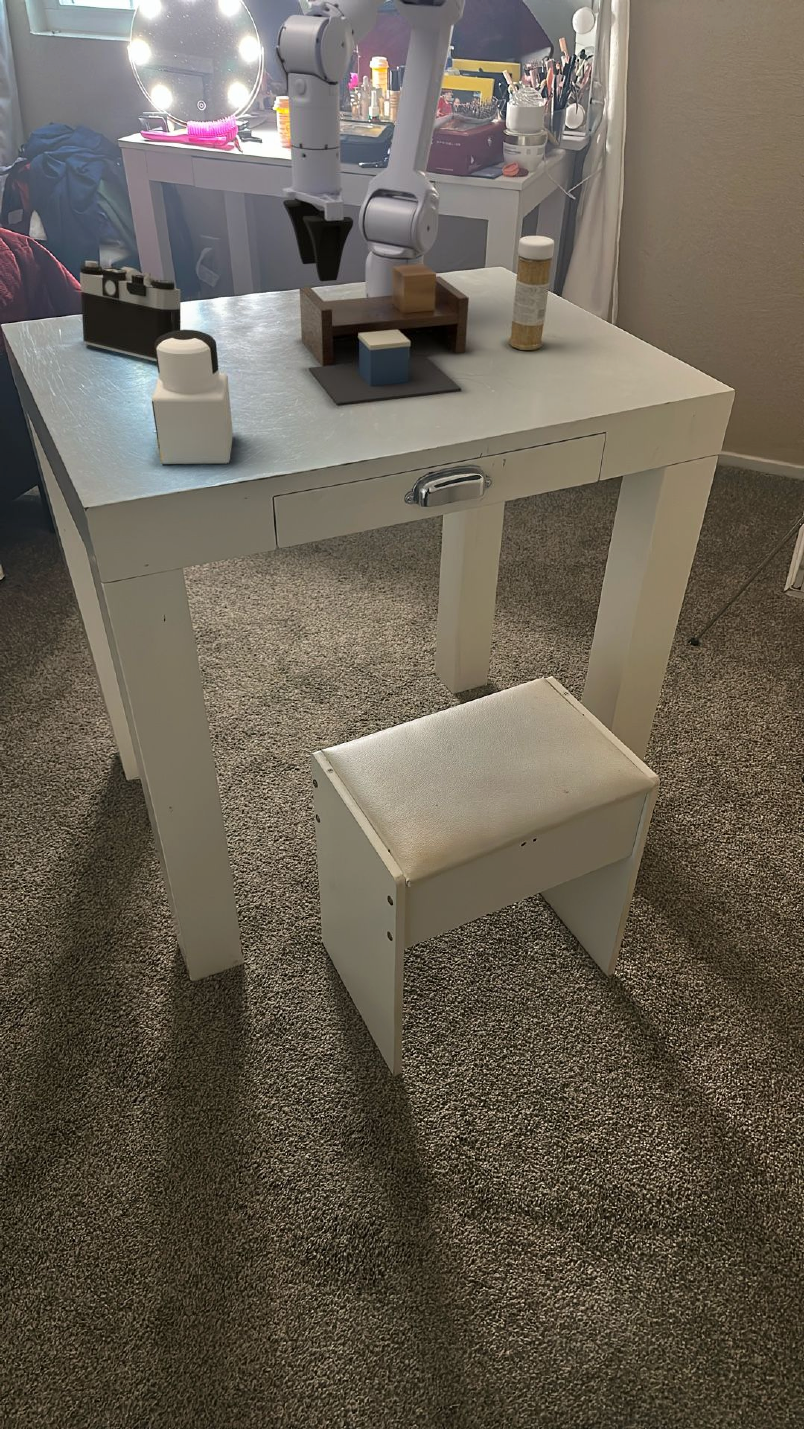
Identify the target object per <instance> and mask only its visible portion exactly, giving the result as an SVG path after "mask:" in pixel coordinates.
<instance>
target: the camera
mask: <svg viewBox="0 0 804 1429" xmlns="http://www.w3.org/2000/svg"><path fill="white" fill-rule="evenodd" d="M84 263H85V264H82V265H81V266H80V272H79V281H80V297H81V312H82V313H81V315H82V316H81V318H82V335H83V338H82V339H83V342H82V343H83V344H85V345H88V346H92V347H96V348H100V349H104V350H109V351H111V352H112V351H113V352H116V353H121V354H124V355H128V356H133V357H137V358H140V359H144V360H149V361H153V362H157V360H156V353H155V346H154V344H155V342H156V340H157V339H158V338H159V337H160V336H162V335H164V334H166V333H168V332H172V331H177V330H182V328H181V325H182V324H181V323H182V322H181V309H182V308H181V289H179V288H175V282H174V281H172V280H166V279H153V277H152V272H144V273H145V274H143V273H142V272H140V271H138V270H137V269H136V268H134V267H129V266H123V267H121V268H117V267H112V266H109V267H108V266H107V267H102V266H99V262H98V261H94V260H85V261H84Z"/></svg>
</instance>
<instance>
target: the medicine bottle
mask: <svg viewBox="0 0 804 1429" xmlns="http://www.w3.org/2000/svg"><path fill="white" fill-rule="evenodd" d="M154 346H155V353H156V360H157V361H156V367H157V373H158V377H157V380H156V384H155V386H154V390H153V393H152V396H151V406H152V412H153V419H154V420H153V421H154V427H155V433H156V441H157V447H158V452H159V460H160V463H161V464H163V465H202V464H203V465H206V464H209V465H212V464H214V465H215V464H216V465H217V464H221V465H222V464H229V462H230V460H231V454H232V453H231V452H232V444H233V439H234V438H233V437H234V431H233V421H232V409H231V399H230V398H231V397H230V387H229V378H228V374H227V372H220V370H219V369H220V368H219V359H218V358H219V357H218V348H217V342H216V340H215V338H214V337H213V336H212V335H210V334H208V333H205V332H203V331H199V330H194V329H181V330H177V331H172V332H168V333H166V334H164V335H162V336H160V337H159V338H158V339H157V340H156V342H155V344H154Z"/></svg>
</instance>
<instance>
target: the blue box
mask: <svg viewBox="0 0 804 1429" xmlns="http://www.w3.org/2000/svg"><path fill="white" fill-rule="evenodd" d="M357 339H358V363H359V374H360V375H361V376H362V377H363V378H364V380H365V381H366V382H367V383H368V384H369V385H370V386H378V385H387V384H396V383H404V382H408V377H409V357H410V347H411V343H412V342H411V340H410V339H409V338H408V337H407V336H406V335H405V334H402V333H401V332H400V331H399V330H387V331H376V332H365V333H358V338H357Z"/></svg>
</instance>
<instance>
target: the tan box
mask: <svg viewBox="0 0 804 1429" xmlns="http://www.w3.org/2000/svg"><path fill="white" fill-rule="evenodd" d="M436 277H437V273H436V272H435V271H434V270H432V269H431V268H430V267H428V266H427V265H426V264H424V263H423V264H421V265H408V266H394V267H393V282H392V304H394V305H395V306H396V307H397V308H398V309H399V310H400V311H402V312H403V313H412V312H423V311H434V309H435V289H436Z"/></svg>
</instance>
